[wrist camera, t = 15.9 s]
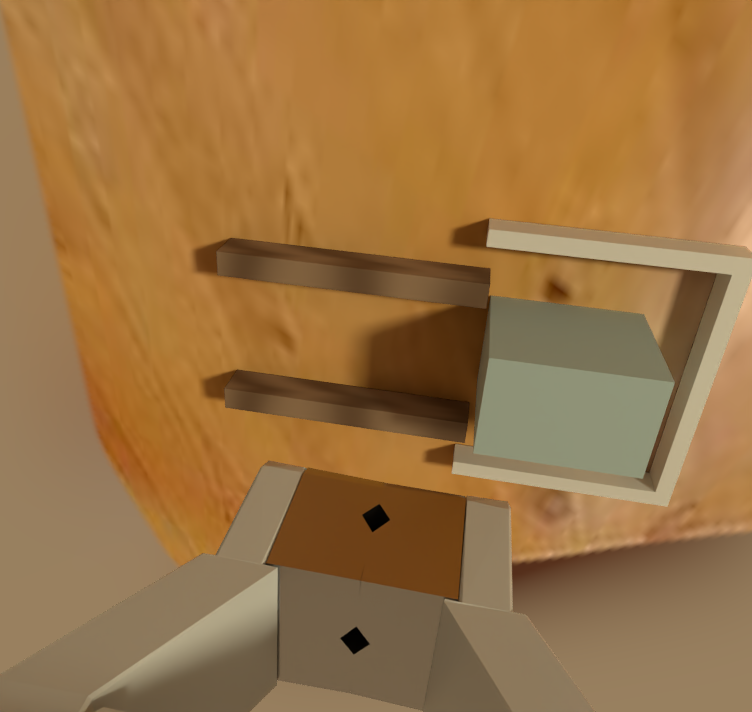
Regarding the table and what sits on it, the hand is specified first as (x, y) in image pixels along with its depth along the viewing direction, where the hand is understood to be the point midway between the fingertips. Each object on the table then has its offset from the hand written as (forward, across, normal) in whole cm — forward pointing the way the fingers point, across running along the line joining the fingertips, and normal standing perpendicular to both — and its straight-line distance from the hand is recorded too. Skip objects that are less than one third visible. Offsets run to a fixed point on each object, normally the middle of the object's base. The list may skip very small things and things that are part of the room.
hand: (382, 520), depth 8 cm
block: (+31, +7, -13) cm, 35 cm away
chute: (+31, -6, -14) cm, 34 cm away
